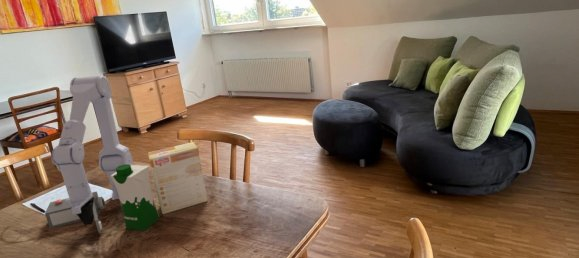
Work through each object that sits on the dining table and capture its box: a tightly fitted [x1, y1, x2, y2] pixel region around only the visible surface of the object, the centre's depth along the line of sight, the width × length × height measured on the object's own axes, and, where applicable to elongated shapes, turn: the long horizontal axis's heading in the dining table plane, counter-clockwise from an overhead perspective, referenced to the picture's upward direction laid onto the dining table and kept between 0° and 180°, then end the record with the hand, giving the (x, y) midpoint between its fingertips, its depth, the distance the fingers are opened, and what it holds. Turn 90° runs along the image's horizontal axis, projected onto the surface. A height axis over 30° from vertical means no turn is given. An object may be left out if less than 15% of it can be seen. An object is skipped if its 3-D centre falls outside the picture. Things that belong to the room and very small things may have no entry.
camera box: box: [44, 191, 106, 230], centre depth 120 cm, size 16×8×6 cm, turn 112°
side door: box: [93, 203, 103, 234], centre depth 113 cm, size 13×1×5 cm, turn 31°
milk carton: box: [110, 164, 160, 232], centre depth 110 cm, size 9×9×20 cm
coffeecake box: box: [147, 141, 209, 215], centre depth 120 cm, size 15×7×20 cm, turn 115°
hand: (88, 223), depth 111 cm, fingers closed
